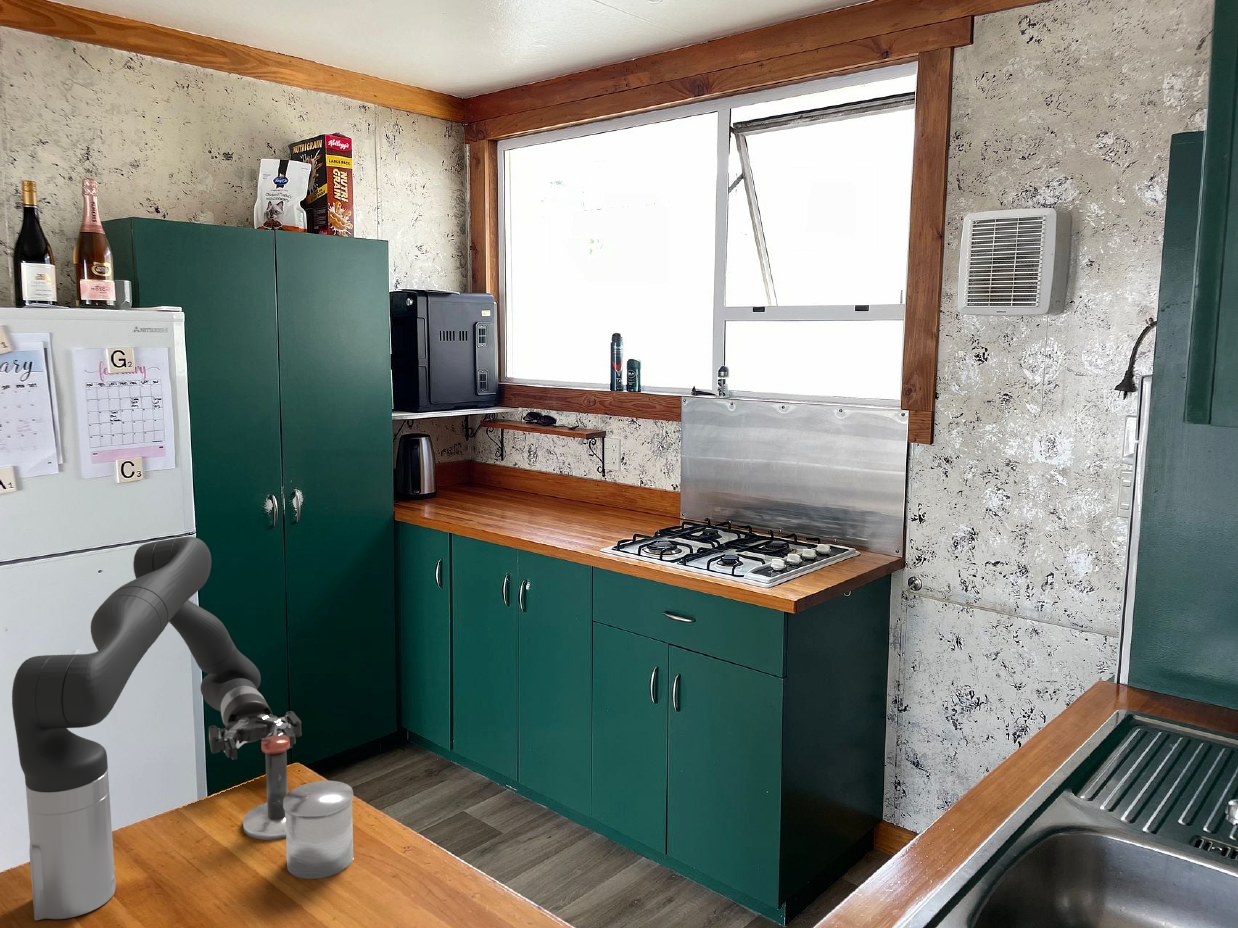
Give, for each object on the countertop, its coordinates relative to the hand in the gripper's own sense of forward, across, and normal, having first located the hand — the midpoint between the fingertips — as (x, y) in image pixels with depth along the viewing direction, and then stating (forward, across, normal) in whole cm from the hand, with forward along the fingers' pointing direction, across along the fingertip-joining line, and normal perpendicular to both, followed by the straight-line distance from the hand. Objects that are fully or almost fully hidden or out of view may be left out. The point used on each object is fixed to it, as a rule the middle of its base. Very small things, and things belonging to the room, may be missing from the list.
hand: (263, 748), depth 151 cm
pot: (+25, +3, +8) cm, 26 cm away
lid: (+11, 0, +8) cm, 13 cm away
